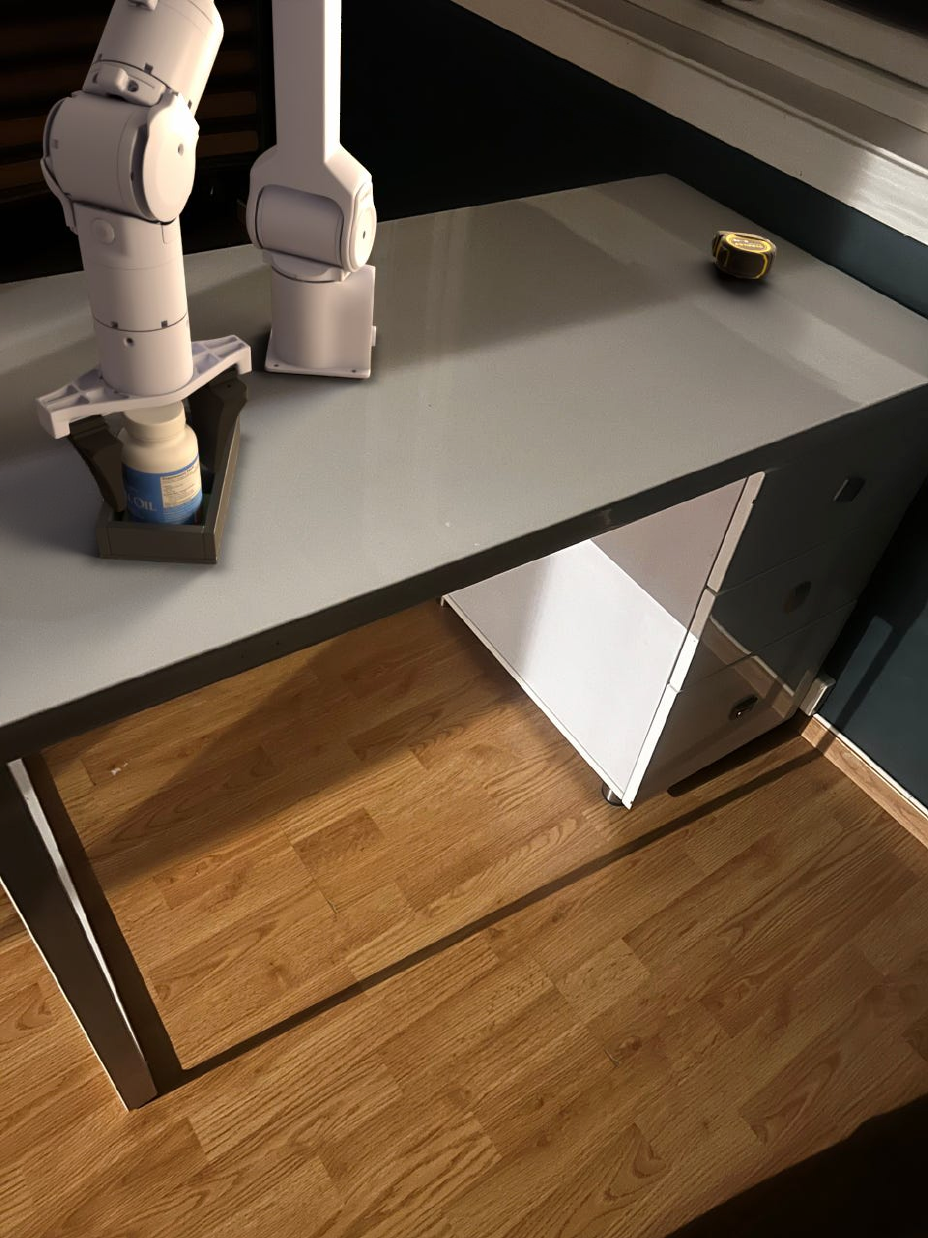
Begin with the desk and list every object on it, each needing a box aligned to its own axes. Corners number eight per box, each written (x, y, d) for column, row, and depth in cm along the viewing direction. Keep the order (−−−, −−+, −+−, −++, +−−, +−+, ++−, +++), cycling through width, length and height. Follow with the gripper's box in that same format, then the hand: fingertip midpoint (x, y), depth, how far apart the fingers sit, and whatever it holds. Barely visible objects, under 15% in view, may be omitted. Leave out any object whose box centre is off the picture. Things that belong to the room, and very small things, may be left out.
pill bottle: (113, 513, 72) (93, 399, 65) (177, 486, 75) (164, 375, 68) (155, 552, 70) (138, 439, 63) (219, 523, 72) (210, 412, 66)
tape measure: (762, 262, 117) (773, 232, 115) (772, 289, 112) (783, 257, 110) (707, 255, 117) (716, 224, 114) (714, 281, 112) (724, 249, 110)
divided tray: (241, 439, 81) (239, 409, 79) (217, 564, 70) (214, 533, 68) (140, 432, 80) (136, 402, 78) (100, 558, 69) (94, 527, 67)
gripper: (205, 255, 66) (218, 424, 76) (-6, 311, 58) (39, 491, 68) (266, 299, 63) (272, 469, 72) (52, 364, 55) (90, 546, 65)
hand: (163, 483), depth 70 cm, fingers open, 7 cm apart
